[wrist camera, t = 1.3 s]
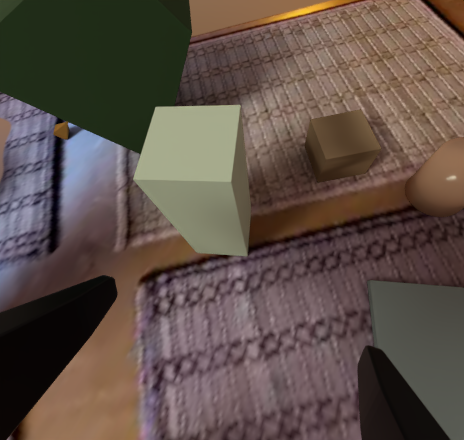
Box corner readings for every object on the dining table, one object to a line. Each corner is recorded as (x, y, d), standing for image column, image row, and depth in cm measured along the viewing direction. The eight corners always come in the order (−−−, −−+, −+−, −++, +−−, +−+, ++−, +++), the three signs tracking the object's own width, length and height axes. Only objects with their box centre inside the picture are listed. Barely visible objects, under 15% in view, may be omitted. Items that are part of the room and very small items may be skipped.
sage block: (197, 252, 24) (133, 179, 12) (204, 207, 26) (155, 106, 14) (247, 256, 23) (230, 181, 12) (251, 209, 25) (240, 104, 14)
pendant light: (-55, 149, 24) (-10, -499, 6) (-11, 54, 30) (75, -402, 12) (120, 199, 35) (307, 28, 18) (126, 124, 42) (269, -57, 24)
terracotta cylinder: (409, 216, 23) (445, 188, 19) (400, 171, 25) (431, 137, 21) (469, 218, 22) (522, 190, 18) (455, 172, 24) (499, 136, 20)
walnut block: (317, 183, 26) (325, 159, 22) (304, 146, 28) (310, 119, 24) (364, 174, 26) (381, 148, 22) (348, 138, 28) (361, 109, 24)
